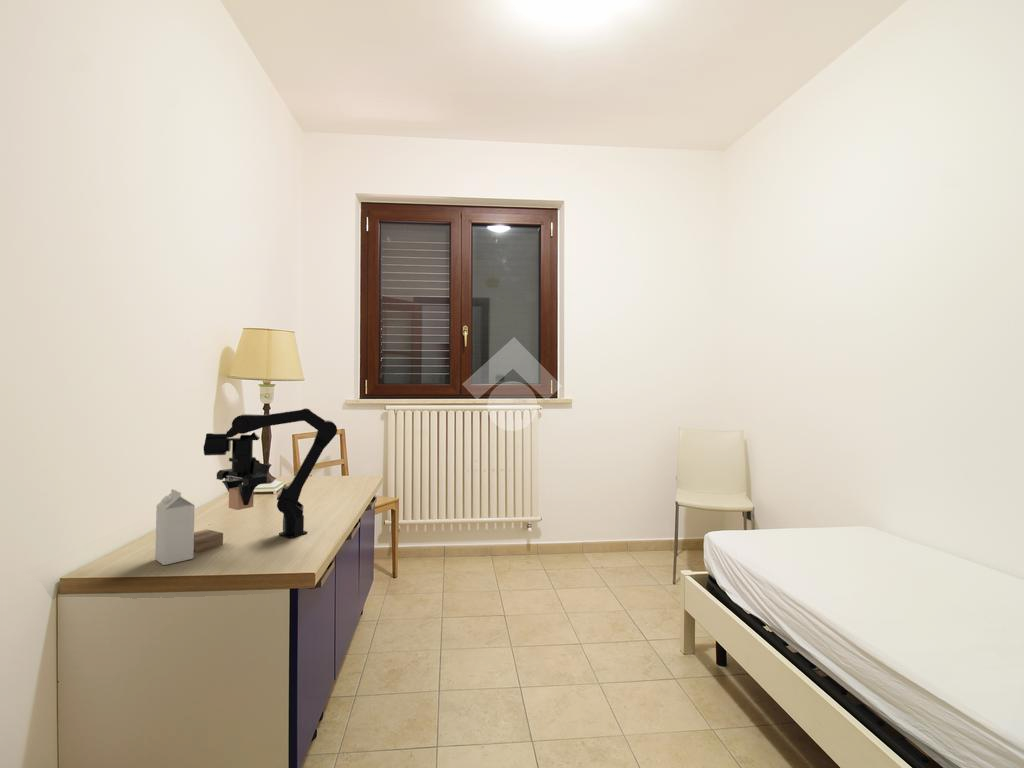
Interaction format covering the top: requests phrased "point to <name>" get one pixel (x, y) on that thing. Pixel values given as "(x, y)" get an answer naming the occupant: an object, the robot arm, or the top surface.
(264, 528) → the top surface
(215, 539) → the walnut block
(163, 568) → the top surface
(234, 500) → the terracotta cube
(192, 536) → the milk carton
